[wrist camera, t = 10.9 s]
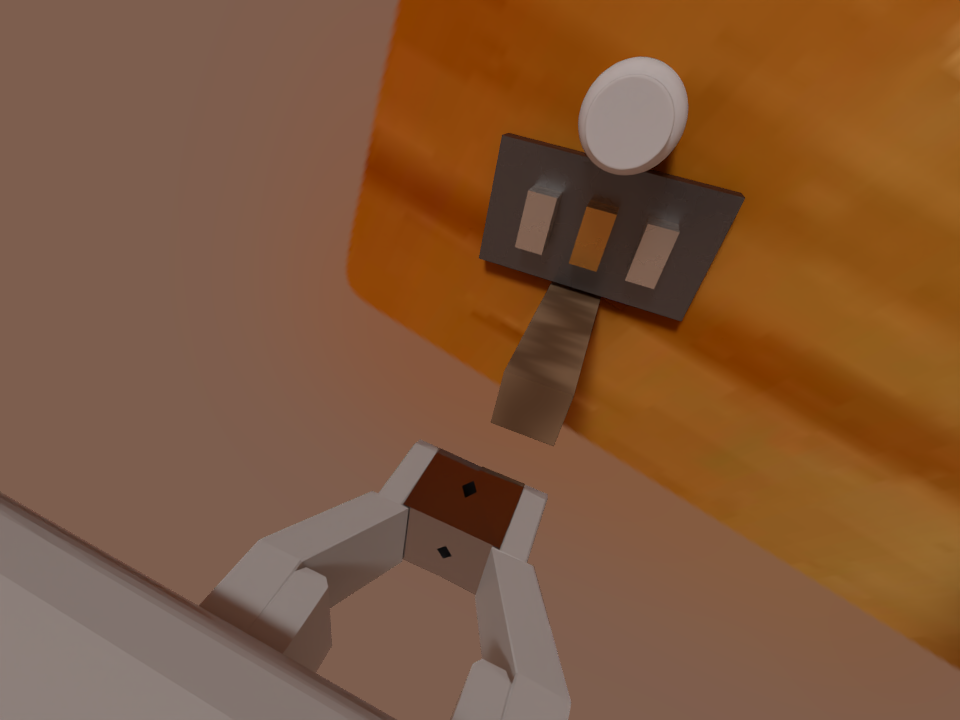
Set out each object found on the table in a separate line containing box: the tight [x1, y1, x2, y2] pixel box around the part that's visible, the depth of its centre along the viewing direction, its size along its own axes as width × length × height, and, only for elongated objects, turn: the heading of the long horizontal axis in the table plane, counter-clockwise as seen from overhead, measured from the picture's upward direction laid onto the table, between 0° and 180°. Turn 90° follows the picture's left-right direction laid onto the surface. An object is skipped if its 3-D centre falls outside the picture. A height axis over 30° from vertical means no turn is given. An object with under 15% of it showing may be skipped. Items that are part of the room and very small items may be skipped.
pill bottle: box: [578, 57, 688, 175], centre depth 24 cm, size 5×5×10 cm
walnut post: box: [491, 281, 601, 446], centre depth 31 cm, size 4×4×14 cm
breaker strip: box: [479, 133, 745, 321], centre depth 31 cm, size 16×9×4 cm, turn 79°
